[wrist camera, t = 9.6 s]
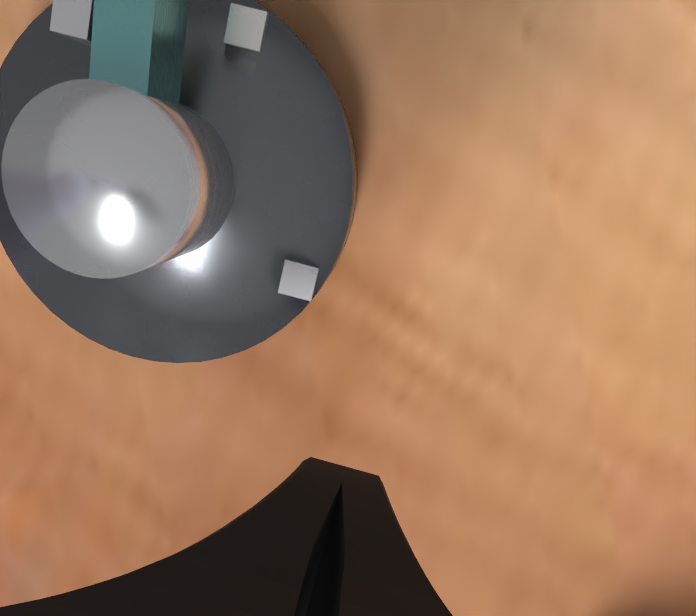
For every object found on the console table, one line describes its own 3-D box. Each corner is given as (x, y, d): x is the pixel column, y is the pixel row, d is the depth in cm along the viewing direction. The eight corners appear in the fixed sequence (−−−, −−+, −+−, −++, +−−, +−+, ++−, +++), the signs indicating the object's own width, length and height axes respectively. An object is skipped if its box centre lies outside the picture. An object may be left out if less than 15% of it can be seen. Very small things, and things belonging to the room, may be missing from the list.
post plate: (-4, 300, 20) (-116, 336, 16) (35, -53, 18) (-86, -126, 13) (311, 386, 20) (284, 446, 16) (398, 36, 17) (395, -9, 13)
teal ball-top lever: (224, 269, 18) (179, 294, 14) (78, 242, 18) (-2, 260, 14) (271, -123, 15) (230, -212, 12) (103, -148, 15) (14, -241, 12)
